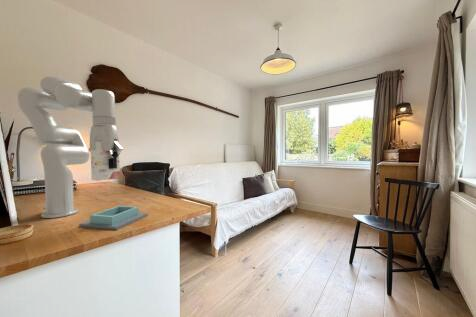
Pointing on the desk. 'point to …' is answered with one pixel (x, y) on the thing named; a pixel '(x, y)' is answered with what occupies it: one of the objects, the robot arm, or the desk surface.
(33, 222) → the desk surface
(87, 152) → the robot arm
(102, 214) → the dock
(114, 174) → the ink cartridge box
